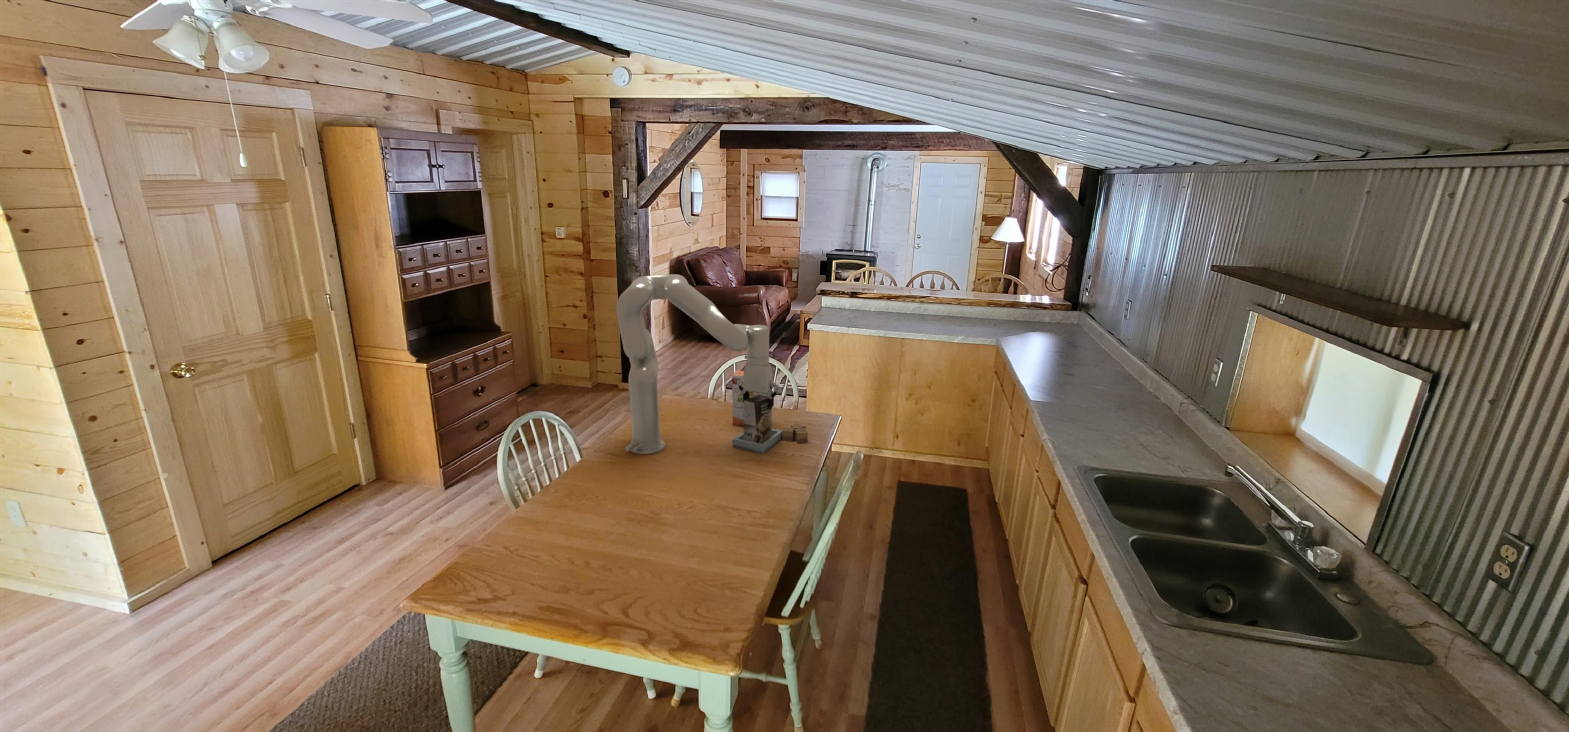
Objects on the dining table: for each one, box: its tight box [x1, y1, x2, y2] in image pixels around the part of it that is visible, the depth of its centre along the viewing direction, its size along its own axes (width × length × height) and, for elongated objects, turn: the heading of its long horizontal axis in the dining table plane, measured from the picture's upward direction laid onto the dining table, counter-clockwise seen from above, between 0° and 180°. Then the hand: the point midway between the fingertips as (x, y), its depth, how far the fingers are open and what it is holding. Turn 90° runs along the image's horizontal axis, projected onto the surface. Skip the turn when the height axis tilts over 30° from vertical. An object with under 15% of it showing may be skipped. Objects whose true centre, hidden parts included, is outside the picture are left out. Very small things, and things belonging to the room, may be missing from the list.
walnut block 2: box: [790, 422, 807, 430], centre depth 243 cm, size 4×4×4 cm
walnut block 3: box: [794, 428, 809, 444], centre depth 238 cm, size 4×4×4 cm
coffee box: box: [743, 394, 773, 444], centre depth 234 cm, size 9×6×16 cm
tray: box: [732, 428, 783, 455], centre depth 236 cm, size 15×12×3 cm
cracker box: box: [731, 370, 767, 427], centre depth 250 cm, size 14×6×21 cm, turn 78°
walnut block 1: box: [781, 425, 795, 442], centre depth 240 cm, size 4×4×4 cm
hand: (758, 405), depth 232 cm, fingers open, 9 cm apart
